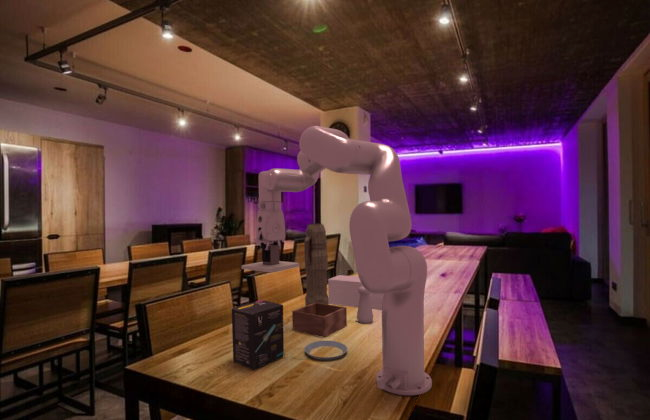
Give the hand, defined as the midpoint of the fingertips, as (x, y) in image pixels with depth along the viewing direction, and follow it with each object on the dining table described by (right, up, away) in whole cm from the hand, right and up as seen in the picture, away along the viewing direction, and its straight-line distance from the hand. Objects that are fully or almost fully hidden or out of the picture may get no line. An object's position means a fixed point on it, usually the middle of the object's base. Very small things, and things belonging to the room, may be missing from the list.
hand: (271, 260), depth 124 cm
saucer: (+19, -24, -24) cm, 38 cm away
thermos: (+15, -23, +15) cm, 32 cm away
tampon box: (0, -24, -26) cm, 35 cm away
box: (+17, -23, -3) cm, 29 cm away
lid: (0, -3, 0) cm, 3 cm away
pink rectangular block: (+37, -23, +28) cm, 52 cm away
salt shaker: (+33, -23, +3) cm, 40 cm away
